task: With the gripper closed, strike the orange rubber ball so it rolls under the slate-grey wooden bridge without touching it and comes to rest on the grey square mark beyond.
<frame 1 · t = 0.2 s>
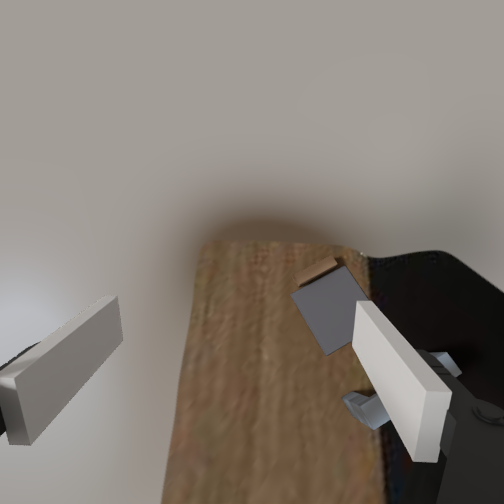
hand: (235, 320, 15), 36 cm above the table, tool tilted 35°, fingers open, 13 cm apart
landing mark: (335, 308, 51), on the table
bridge: (383, 383, 46), on the table
stopper wall: (313, 273, 53), on the table
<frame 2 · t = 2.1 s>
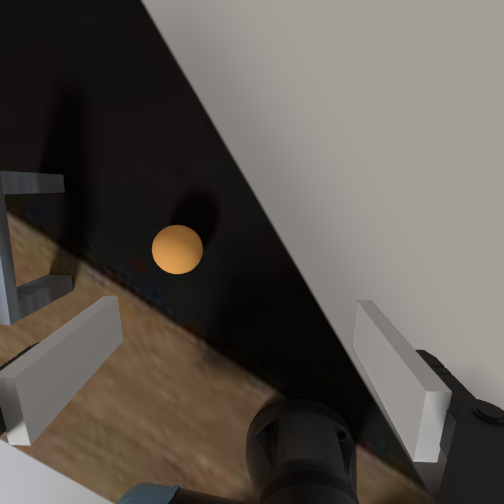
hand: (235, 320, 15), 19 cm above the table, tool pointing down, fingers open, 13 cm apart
ball: (178, 249, 31), on the table
bridge: (56, 234, 34), on the table
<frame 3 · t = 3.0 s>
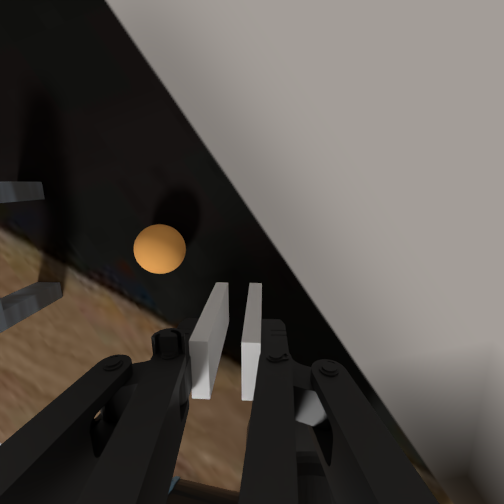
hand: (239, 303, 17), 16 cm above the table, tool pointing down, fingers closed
ball: (160, 249, 31), on the table
bridge: (40, 242, 34), on the table
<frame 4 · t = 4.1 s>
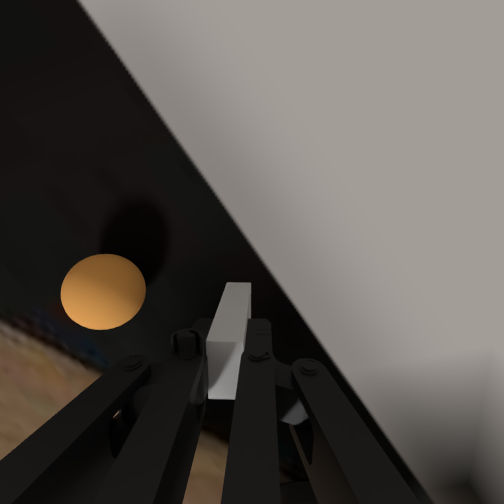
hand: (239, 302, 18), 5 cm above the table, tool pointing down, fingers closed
ball: (105, 291, 21), on the table
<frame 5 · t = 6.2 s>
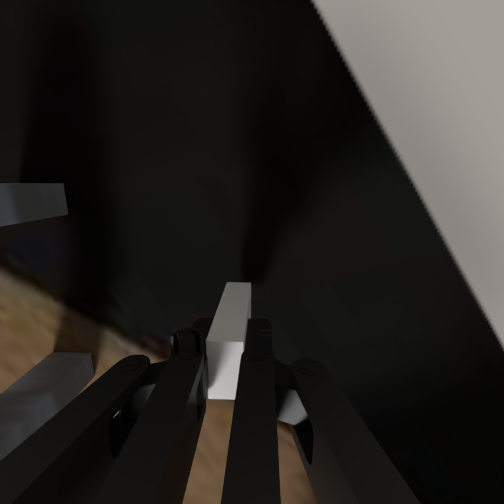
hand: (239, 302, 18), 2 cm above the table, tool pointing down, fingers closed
bridge: (59, 287, 20), on the table
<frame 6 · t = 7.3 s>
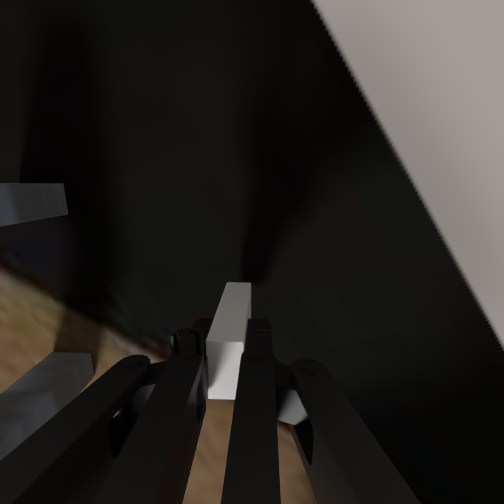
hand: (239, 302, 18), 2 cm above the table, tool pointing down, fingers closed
bridge: (59, 287, 20), on the table
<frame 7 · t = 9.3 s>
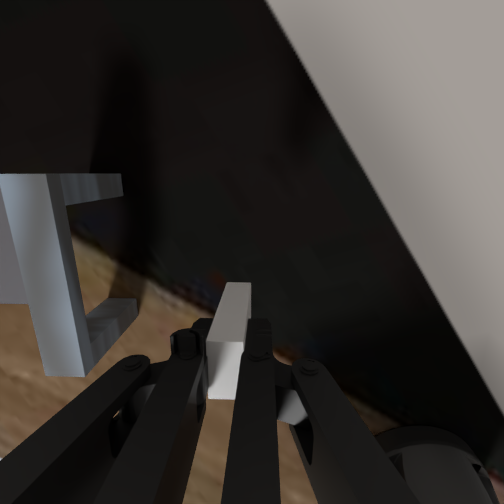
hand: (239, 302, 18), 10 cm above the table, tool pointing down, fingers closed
bridge: (115, 249, 28), on the table
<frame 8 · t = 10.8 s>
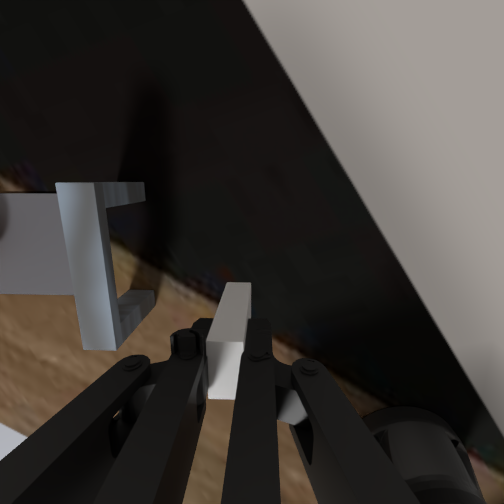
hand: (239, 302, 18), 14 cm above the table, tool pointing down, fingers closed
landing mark: (19, 245, 33), on the table
bridge: (137, 247, 32), on the table
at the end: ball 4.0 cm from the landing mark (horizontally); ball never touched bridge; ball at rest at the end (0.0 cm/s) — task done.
